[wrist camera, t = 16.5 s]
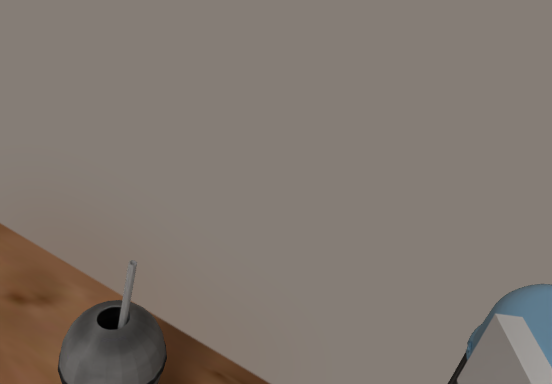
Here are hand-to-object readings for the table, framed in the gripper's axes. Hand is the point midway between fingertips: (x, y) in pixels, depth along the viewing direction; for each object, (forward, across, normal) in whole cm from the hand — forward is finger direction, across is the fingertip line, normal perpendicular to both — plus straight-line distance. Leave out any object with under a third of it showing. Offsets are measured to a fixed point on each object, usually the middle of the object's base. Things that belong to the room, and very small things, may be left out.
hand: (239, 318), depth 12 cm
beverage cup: (+14, -7, -32) cm, 35 cm away
